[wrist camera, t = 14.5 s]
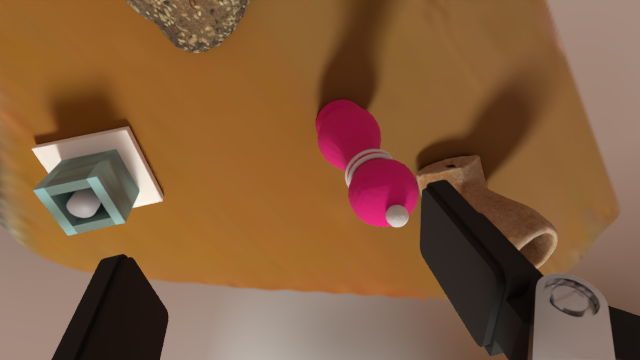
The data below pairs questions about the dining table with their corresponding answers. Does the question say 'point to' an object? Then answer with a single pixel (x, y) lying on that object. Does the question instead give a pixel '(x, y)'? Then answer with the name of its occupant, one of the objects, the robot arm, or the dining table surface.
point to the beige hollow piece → (495, 206)
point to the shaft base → (120, 139)
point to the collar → (86, 172)
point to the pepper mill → (366, 165)
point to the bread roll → (193, 20)
